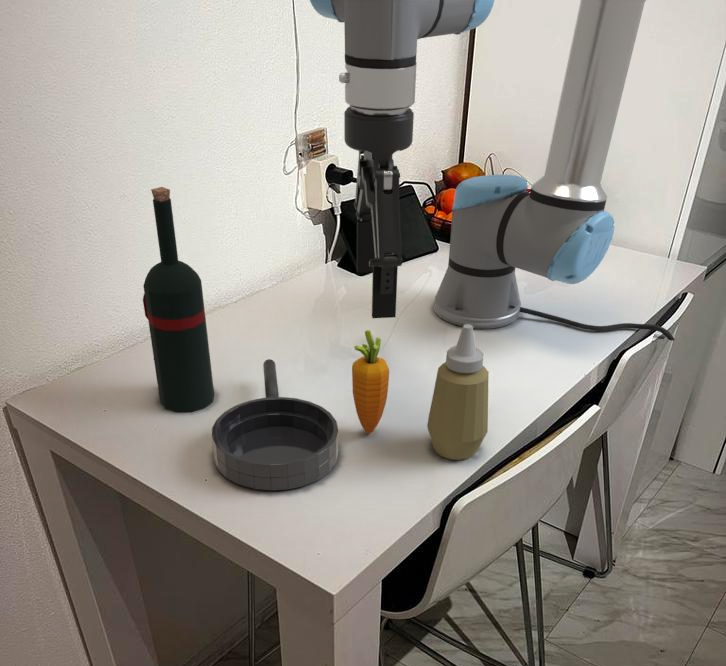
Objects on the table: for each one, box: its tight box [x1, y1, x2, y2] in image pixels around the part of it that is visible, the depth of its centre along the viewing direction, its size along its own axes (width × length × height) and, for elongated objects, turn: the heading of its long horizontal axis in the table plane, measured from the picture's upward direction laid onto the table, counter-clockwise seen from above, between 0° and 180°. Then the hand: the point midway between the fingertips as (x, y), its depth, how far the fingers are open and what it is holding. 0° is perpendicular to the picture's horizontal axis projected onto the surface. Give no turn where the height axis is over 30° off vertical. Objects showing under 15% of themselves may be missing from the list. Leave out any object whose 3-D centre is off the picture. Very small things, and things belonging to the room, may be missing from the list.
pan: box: [211, 396, 339, 491], centre depth 105 cm, size 16×16×4 cm
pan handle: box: [262, 358, 280, 398], centre depth 115 cm, size 2×12×2 cm, turn 8°
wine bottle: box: [142, 186, 215, 413], centre depth 109 cm, size 8×10×30 cm
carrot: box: [351, 329, 390, 435], centre depth 106 cm, size 5×5×15 cm
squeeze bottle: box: [426, 324, 490, 461], centre depth 103 cm, size 8×8×18 cm
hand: (374, 293), depth 99 cm, fingers open, 13 cm apart
